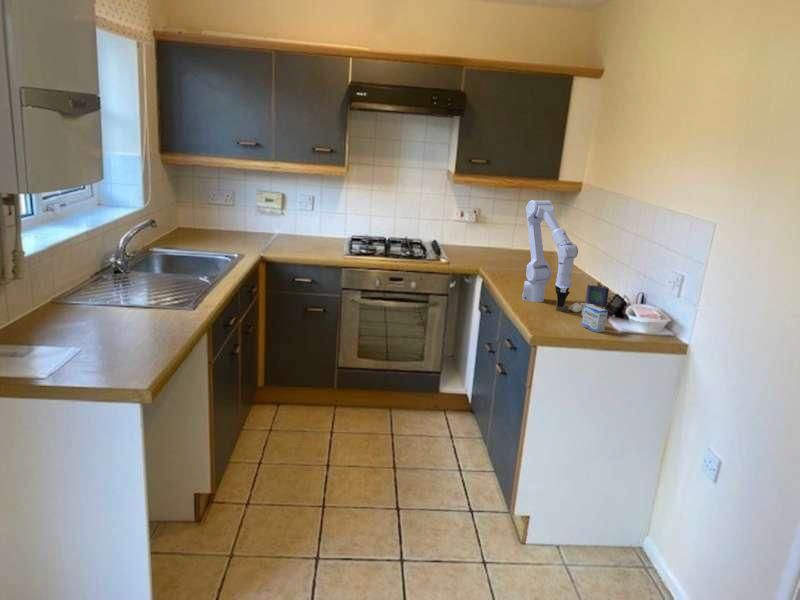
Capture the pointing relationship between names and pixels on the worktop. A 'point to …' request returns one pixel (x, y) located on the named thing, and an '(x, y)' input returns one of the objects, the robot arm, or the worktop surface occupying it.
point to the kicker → (562, 308)
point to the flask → (597, 294)
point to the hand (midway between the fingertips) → (560, 305)
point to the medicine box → (594, 318)
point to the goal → (583, 307)
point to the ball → (576, 307)
